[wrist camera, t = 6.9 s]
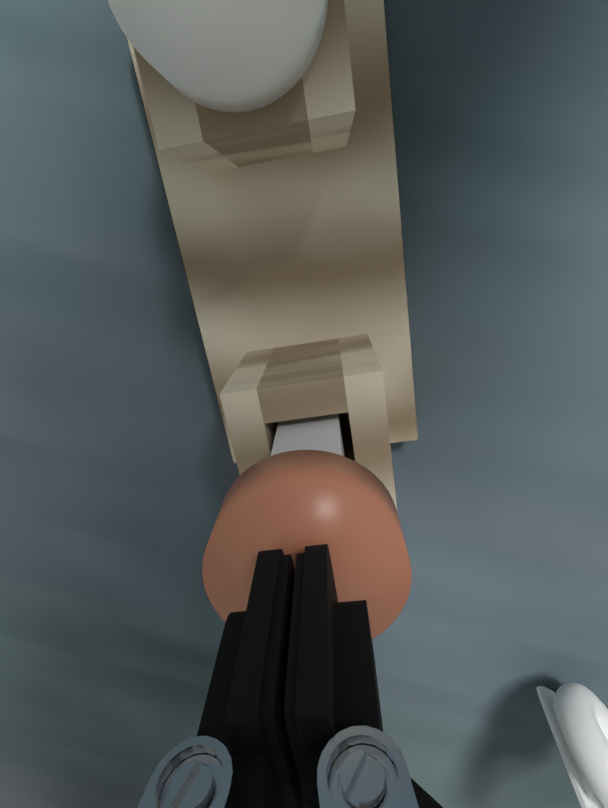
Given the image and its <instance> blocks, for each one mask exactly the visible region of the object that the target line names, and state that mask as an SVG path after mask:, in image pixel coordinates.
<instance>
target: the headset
mask: <svg viewBox="0 0 608 808" xmlns="http://www.w3.org/2000/svg"><path fill="white" fill-rule="evenodd" d="M536 690H537V694H538V697H539V700H540V702H541V705H542V708H543V710H544V713H545V715H546V718H547V721H548V723H549V726H550V728H551V731H552V733H553V736H554V739H555V741H556V744H557V746H558V749H559V751H560V754H561V756H562V759H563V762H564V764H565V767H566V769H567V772H568V774H569V777H570V779H571V782H572V785H573V787H574V790H575V792H576V795H577V797H578V800H579V802H580V805H581V807H582V808H608V709H607V708H606V707H605V705H604V704H603V703H602V702H601V701H600V700H599V699H598V698H597V696H596V695H595V694H594V693H592V692H591V691H590V690H589V689H588V688H586V687H585V686H583V685H581V684H578V683H566V684H563V685H561V686H560V687H559V688H558V689H557V691H556V693H555V692H554V691H552V690H550V689H548V688H546V687H544V686H538V687H536Z"/></svg>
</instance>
